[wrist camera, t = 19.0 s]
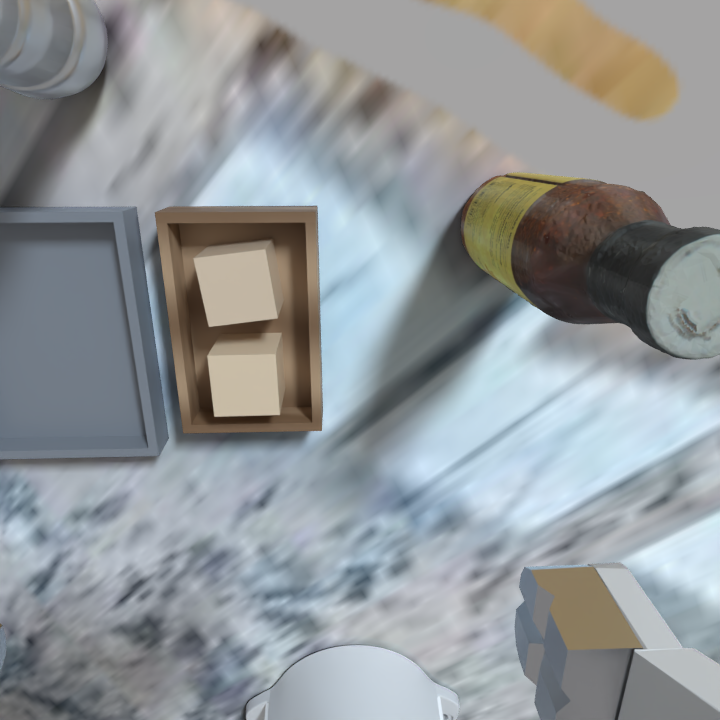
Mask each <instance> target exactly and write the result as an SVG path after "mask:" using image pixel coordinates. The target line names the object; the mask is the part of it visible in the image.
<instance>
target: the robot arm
mask: <svg viewBox="0 0 720 720" xmlns="http://www.w3.org/2000/svg"><path fill="white" fill-rule="evenodd" d="M519 588H520V590H521V593H522V595H523V598H524V600H525V601H524V602H523V603H522V604H521V605H520V606H519V607H518V608H517V609H516V618H515V637H516V647H517V651H518V655H519V660H520V663H521V666H522V669H523V672H524V675H525V676H526V677H527V678H529V679H530V680H531V681H532V682H533V683H534V684H535V685H537V689H536V695H535V702H534V703H535V706H536V708H537V711H538V714H539V717H540V719H541V720H720V665H719V664H718V663H716V662H715V661H713V660H712V659H710V658H709V657H707V656H705V655H704V654H702V653H701V652H699V651H698V650H696V649H694V648H683V647H682V645H681V644H680V643H679V641H678V640H677V638H676V637H675V635H674V634H673V633H672V631H671V630H670V628H669V627H668V625H667V624H666V622H665V621H664V620H663V618H662V617H661V615H660V614H659V612H658V611H657V610H656V608H655V607H654V605H653V604H652V602H651V601H650V600H649V598H648V597H647V595H646V594H645V592H644V591H643V589H642V588H641V587H640V585H639V584H638V582H637V581H636V579H635V578H634V577H633V575H632V574H631V572H630V571H629V569H628V568H627V567H626V566H625V565H623V564H621V563H602V564H588V565H564V566H536V567H524V569H523V571H522V573H521V579H520V585H519ZM5 656H6V636H5V632H4V629H3V625H2V624H0V672H1V669H2V666H3V662H4V659H5ZM459 710H460V707H459V698H458V696H457V694H456V693H454V692H453V691H451V690H449V689H447V688H445V687H443V686H441V685H438V684H436V683H434V682H433V681H432V680H431V679H430V678H429V677H428V676H427V675H426V674H425V673H424V672H423V671H422V669H421V668H420V667H419V666H417V665H416V664H415V663H414V662H412V661H411V660H410V659H408V658H406V657H405V656H403V655H401V654H398V653H396V652H393V651H391V650H387V649H384V648H379V647H374V646H365V645H348V646H339V647H334V648H329V649H325V650H322V651H319V652H316V653H314V654H312V655H309V656H307V657H305V658H304V659H302V660H300V661H299V662H297V663H296V664H294V665H293V666H292V667H291V668H290V669H288V670H287V671H286V672H285V674H284V675H283V676H282V677H281V678H280V680H279V681H278V682H277V683H276V684H275V685H274V686H273V687H272V688H271V689H269V690H267V691H265V692H263V693H261V694H259V695H258V696H256V697H254V698H253V699H251V700H250V701H249V702H248V703H247V705H246V720H456V719H457V716H458V714H459Z"/></svg>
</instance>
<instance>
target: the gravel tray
mask: <svg viewBox="0 0 720 720" xmlns="http://www.w3.org/2000/svg"><path fill="white" fill-rule="evenodd" d="M168 439H169V437H168V430H167V423H166V416H165V409H164V401H163V394H162V387H161V380H160V373H159V366H158V358H157V351H156V344H155V337H154V330H153V323H152V315H151V308H150V301H149V294H148V287H147V280H146V272H145V265H144V258H143V251H142V244H141V237H140V229H139V222H138V215H137V208H136V207H0V459H39V458H87V457H136V456H159V455H160V453H161V451H162V449H163V448H164V446H165V444H166V442H167V441H168Z"/></svg>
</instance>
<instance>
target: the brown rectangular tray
mask: <svg viewBox="0 0 720 720" xmlns="http://www.w3.org/2000/svg"><path fill="white" fill-rule="evenodd" d="M155 217H156V225H157V233H158V241H159V248H160V256H161V264H162V272H163V280H164V287H165V295H166V303H167V311H168V319H169V326H170V334H171V342H172V350H173V357H174V365H175V373H176V381H177V389H178V396H179V404H180V412H181V420H182V428H183V433H230V432H282V431H322V417H323V398H322V361H321V324H320V287H319V250H318V213H317V206H202V207H167V208H165V209H162V210H160V211H157V212H155ZM266 238H273V241H274V247H275V253H276V258H277V264H278V270H279V276H280V281H281V287H282V293H283V299H284V301H283V304H282V307H281V310H280V313H279V316H278V318H277V319H269V320H261V321H253V322H245V323H237V324H229V325H221V326H213V327H209V325H208V321H207V316H206V312H205V307H204V303H203V299H202V294H201V290H200V285H199V281H198V277H197V272H196V268H195V263H194V259H193V258H194V257H196V256H197V255H198V254H199V253H200V252H202V251H203V250H204V249H205V248H207V247H208V246H211V245H219V244H227V243H235V242H242V241H250V240H258V239H266ZM246 333H282V345H283V360H284V376H285V392H284V397H283V402H282V407H281V412H280V415H261V416H224V417H214V409H213V401H212V392H211V383H210V375H209V366H208V358H207V355H208V354H209V352H210V350H211V349H212V347H213V345H214V344H215V342H216V340H217V339H218V337H219V335H220V334H246Z"/></svg>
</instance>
